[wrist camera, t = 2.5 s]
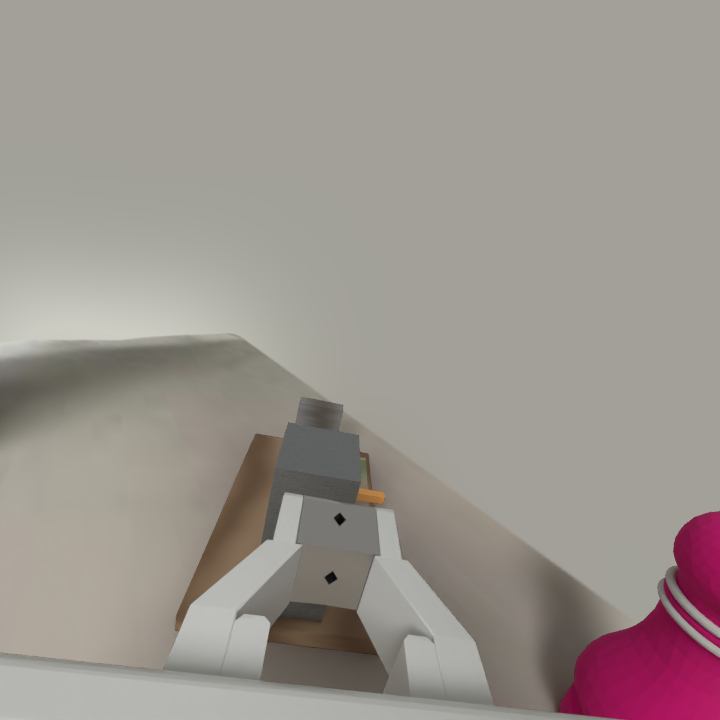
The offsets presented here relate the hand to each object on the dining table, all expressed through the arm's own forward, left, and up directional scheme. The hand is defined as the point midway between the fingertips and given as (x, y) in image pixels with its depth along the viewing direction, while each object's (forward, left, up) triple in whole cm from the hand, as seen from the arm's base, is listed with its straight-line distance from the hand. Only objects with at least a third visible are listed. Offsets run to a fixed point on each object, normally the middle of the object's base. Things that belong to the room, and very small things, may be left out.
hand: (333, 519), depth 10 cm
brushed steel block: (0, +15, -18) cm, 23 cm away
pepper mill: (+22, +5, -20) cm, 30 cm away
